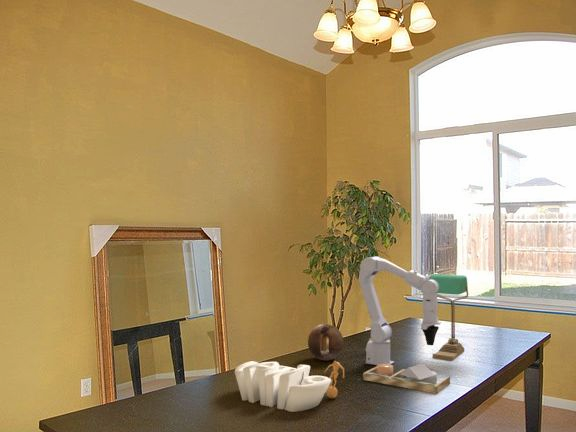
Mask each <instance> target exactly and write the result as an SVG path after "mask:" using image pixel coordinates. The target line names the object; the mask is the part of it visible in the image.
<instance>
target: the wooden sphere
mask: <svg viewBox="0 0 576 432" xmlns="http://www.w3.org/2000/svg"><path fill="white" fill-rule="evenodd" d="M307 346H308V349H309V351H310V353H311V354H312V356H314V357H315V358H317V359H318V360H319V361H325V362H326V361H331V360H334V359H335V358H337V357H338V356H339V355H340V354H341V352H342V351H343V348H344V338H343V335H342V333H341V331H340V330H339V328H337V327H336V326H334V325H331V324H330V323H329V324H328V323H323V324H319V325H317V326H315V327H314V328H313V329H312V330H311V331H310V333H309V334H308V338H307Z"/></svg>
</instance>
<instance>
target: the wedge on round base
mask: <svg viewBox="0 0 576 432" xmlns="http://www.w3.org/2000/svg"><path fill="white" fill-rule="evenodd" d="M405 369H406V370H405V371H403V372H402V373H400V375H404V376H405V377H408V378H410V380H414V381H419V382H425V383H431V384H435V385H436V384H437V383H438V382H437V381H438V380H437V377H438V376H437V372H436V371H435V370H431V369H429V368H428V366H427V365H426V364H425V363H419V364H417V365H413V366H409V367H408V368H405Z"/></svg>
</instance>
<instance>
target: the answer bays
mask: <svg viewBox="0 0 576 432" xmlns="http://www.w3.org/2000/svg"><path fill="white" fill-rule="evenodd" d="M406 369H407V368H402V369H401V370H399V371H397V372H395V373H393V375H392V376H390V377H389V376H385V375H380V374H377V365H375V366H374V367H373V368H370V369H368V370H366V371H364V372H363V373H362V378H363V379H362V380H363V381H369V382H374V383H378V384H384V385H389V386H396V387H400V388H406V389H411V390H417V391H422V392H427V393H433V394H438V393H439V392H441V391H442V390H443V389H445V388H446V387H447V386H449V385H450V384H451V376H449V375H447V376H445V377H444V378H443V379H441V380H440V381H438V382H437V383H436V384H431V383H425V382H419V381H414V380H411V379H407V378H405V377H406V376H404V375H400V373H402V372H403V371H405V370H406Z"/></svg>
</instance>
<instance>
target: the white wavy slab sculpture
mask: <svg viewBox="0 0 576 432" xmlns="http://www.w3.org/2000/svg"><path fill="white" fill-rule="evenodd" d="M310 370H311V366H310V365H309V364H298V365H296V367H292V366H291V367H290V366H285V365H280V363H279V362H278V361H264V362H257V361H254V360H249V361H247V362H244V363H242V364H239V365H238V366H237V367H236V368H235V370H234V375H235V378H236V382H237V385H238V390H239V392H240V397H241V400H242V401H248V402H249V403H252V404H253V403H256V402H258V401H260V405H261V406H266V407H268V406H269V408H273V407H275V406H276V409H277V410H283V409H284V411H286V410H287V412H291V413H294V412H302V411H303V412H304V411H307V410H310V409H314V408H317V406H319V405H320V403H321V402H322V399H323V397H324V396H325V395H326V390H327V388H328V387H329V385H330V384H331V382H332V381H331V379H332V378H331V379H330V378H329V377H328V376H325V375H324V376H323V375H309V374H310ZM274 405H275V406H274Z"/></svg>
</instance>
